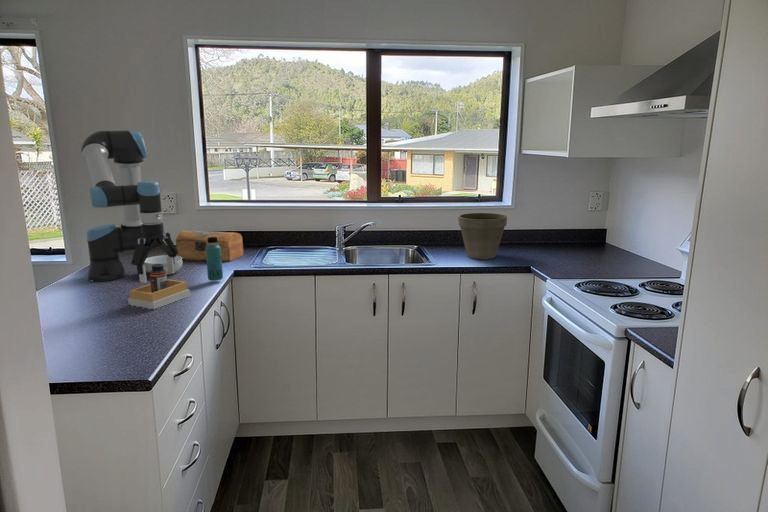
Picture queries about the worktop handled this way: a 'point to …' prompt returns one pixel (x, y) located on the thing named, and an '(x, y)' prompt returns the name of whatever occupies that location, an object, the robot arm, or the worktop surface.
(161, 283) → the supplement bottle
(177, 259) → the cereal bowl
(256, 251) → the worktop surface
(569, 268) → the worktop surface
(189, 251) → the wooden box
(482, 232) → the plant pot
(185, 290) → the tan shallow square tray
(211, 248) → the beverage bottle
